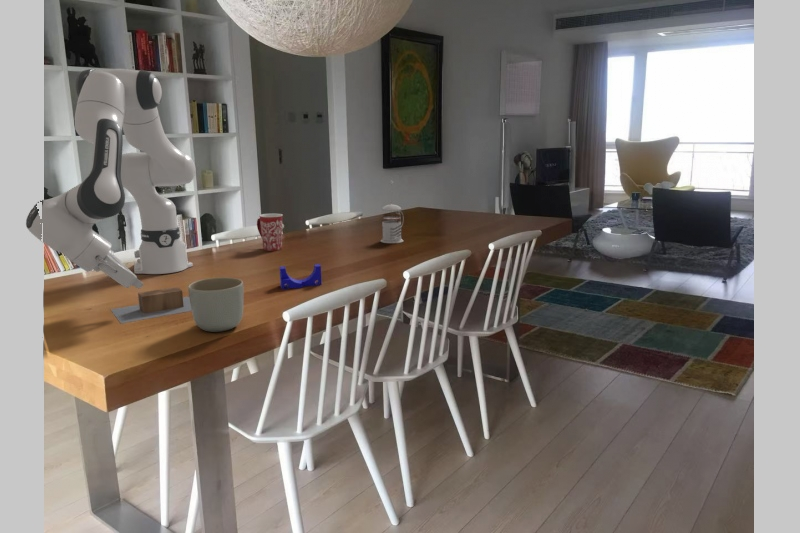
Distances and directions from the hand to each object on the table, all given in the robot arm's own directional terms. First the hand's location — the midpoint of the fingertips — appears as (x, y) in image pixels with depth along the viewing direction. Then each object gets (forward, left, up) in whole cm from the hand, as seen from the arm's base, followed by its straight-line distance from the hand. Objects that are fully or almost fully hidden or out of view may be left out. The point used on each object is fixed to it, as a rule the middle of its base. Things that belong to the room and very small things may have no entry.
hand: (140, 285), depth 151 cm
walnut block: (0, 0, -5) cm, 5 cm away
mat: (0, +4, -7) cm, 8 cm away
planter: (+23, +12, -7) cm, 27 cm away
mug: (-58, +59, -7) cm, 83 cm away
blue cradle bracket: (0, +45, -8) cm, 45 cm away
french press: (-42, +107, -7) cm, 115 cm away
